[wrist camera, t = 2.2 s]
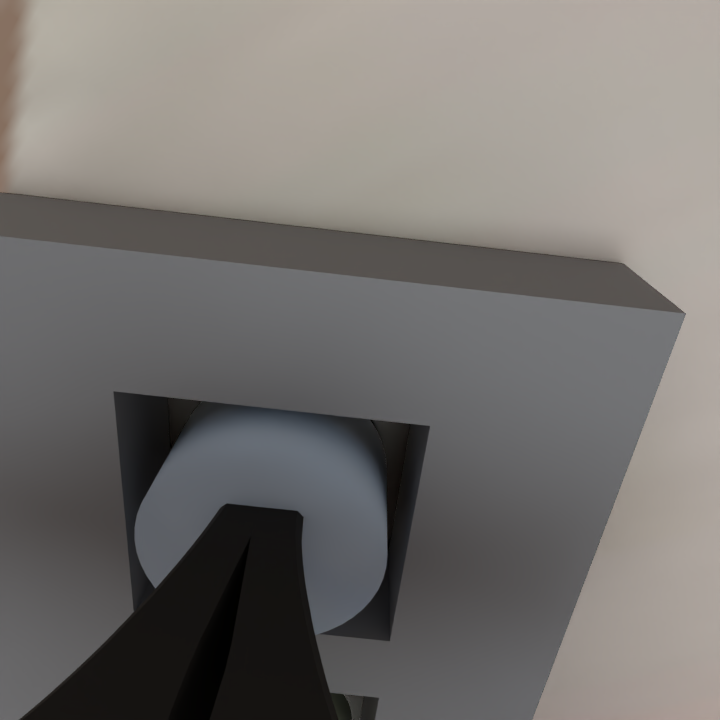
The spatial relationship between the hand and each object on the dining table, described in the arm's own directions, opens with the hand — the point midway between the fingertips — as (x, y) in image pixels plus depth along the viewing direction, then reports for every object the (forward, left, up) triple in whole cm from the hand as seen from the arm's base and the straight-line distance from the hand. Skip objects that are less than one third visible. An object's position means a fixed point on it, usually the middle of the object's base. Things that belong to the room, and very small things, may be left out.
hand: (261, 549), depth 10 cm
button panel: (-7, 0, -3) cm, 8 cm away
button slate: (0, 0, -2) cm, 2 cm away
